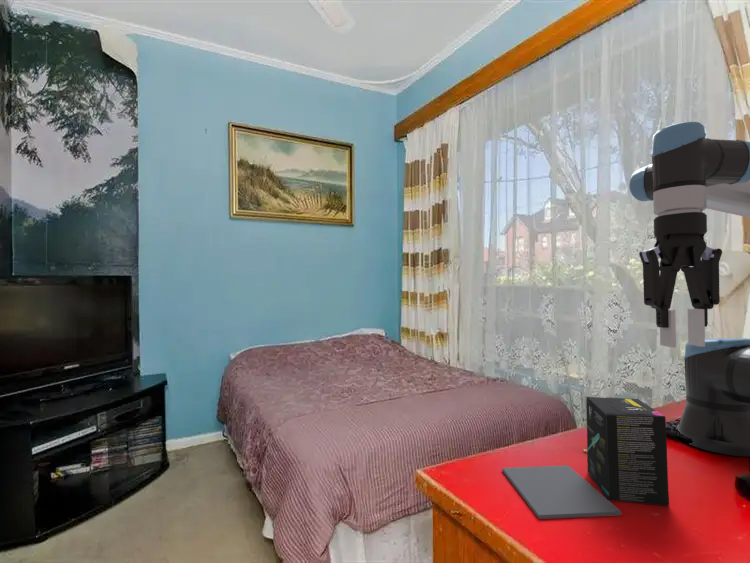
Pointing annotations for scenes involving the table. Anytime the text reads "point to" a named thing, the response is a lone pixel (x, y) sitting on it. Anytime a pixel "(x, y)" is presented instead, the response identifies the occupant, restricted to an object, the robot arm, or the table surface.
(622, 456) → the tampon box
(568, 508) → the felt pad
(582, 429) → the table surface
